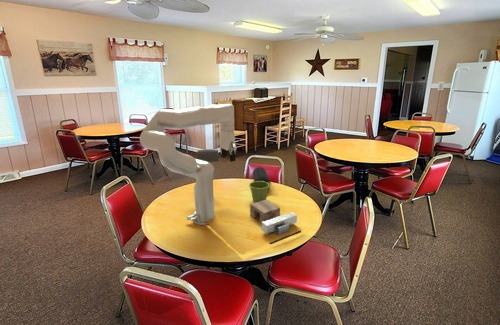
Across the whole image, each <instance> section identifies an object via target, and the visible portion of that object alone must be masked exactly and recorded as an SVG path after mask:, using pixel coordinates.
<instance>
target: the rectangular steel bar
mask: <svg viewBox="0 0 500 325" xmlns="http://www.w3.org/2000/svg"><path fill="white" fill-rule="evenodd" d="M297 223H298V215H297V214H296V213H294V212H292V211H291V212H287V213H285V214H282V215H281V214H280V216H278V217H275V218H272V219H270V220H267V221H264V222H262V223H261V231H263V233H265V234H270V233H272V232H273V231H275V230H277V227H279V226H282V225H285V224H289V226H291V225H294V224H297ZM273 233H274V232H273Z"/></svg>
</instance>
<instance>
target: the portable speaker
mask: <svg viewBox="0 0 500 325" xmlns="http://www.w3.org/2000/svg"><path fill="white" fill-rule="evenodd" d="M252 178H253V182H255V181H264V182H267V183H269V184H270V185H269V187H268V189H269V188H270V186H271V181H270V178H269V175H268V174H267V170H266V169H265V168H264V167H262V166H257V167H256V168H254V169H253V171H252Z"/></svg>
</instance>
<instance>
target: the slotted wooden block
mask: <svg viewBox="0 0 500 325" xmlns="http://www.w3.org/2000/svg"><path fill="white" fill-rule="evenodd" d="M249 212H250V213H249V216H250V217H251V218H253V219H254V220H256V221H257V222H259V223H261V224H262V222H264V221H267V220H270V219H272V218H275V217H278V216H281V207H279V206H278V205H276V204H274V203H272V202H271V201H269V200H267V199H266V200H263V201H260V202H257V203H256V202H253V203H250V204H249Z"/></svg>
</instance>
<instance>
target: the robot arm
mask: <svg viewBox="0 0 500 325" xmlns="http://www.w3.org/2000/svg"><path fill="white" fill-rule="evenodd" d="M215 124H219V128H220V130H219V148H220V151H221V155H220V156H221V158H227V157H228V151H229V162H231V163H232V162H235V161H236V153H237V145H236V136H235V135H236V134H235V105H233V103H222V104H210V105H207V106H206V107H205V106H203V107H202V106H193V107H187V108H178V109H166V108H162V109H160V110H158V111H157V112H156V113H155V114H154V115H153V116H152V118H151V119H150V120H149V122H147V125H146V126H145V127H144V129H143V130H142V131H141V133H140V136H139V142H140V145H141V146H142V147H143V148H145V149H146V150H150V151H155V152H158V157H159V161H160V163H161V165H162V166H163V167H165V168H167V169H168V171H171V172H173V173H175V174H180V175H182V176H187V177H190V178H192V179H196V181H195V182H194V183H195V184H194V186H193V195H194V208H195V211H193V213H192V214H191V215H188V216H186V220H187V221H190V220H191V222H193V223H195V224H196V225H198V226H199V225H200V226H207V225H209V223H208V222H210V221H212V220H213V219H215V216H216V215H215V200H214V175H215V167H214V165H213V164H212V162H210V163H209V162H207V161H203V160H198V159H197V158H195V157H193V156H192V155H190V154H187V153H183V152H181V151H179V150H177V148H176V143H175V139H174V137H173V136H172V135H171V134H170V133H168V132H166V131H165V130H166V129H167V130H171V131H172V130H173V131H174V130H175V131H176V130H183V129H186V128H187V129H188V128H191V127H197V126H205V125H207V126H208V125H215Z"/></svg>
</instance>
